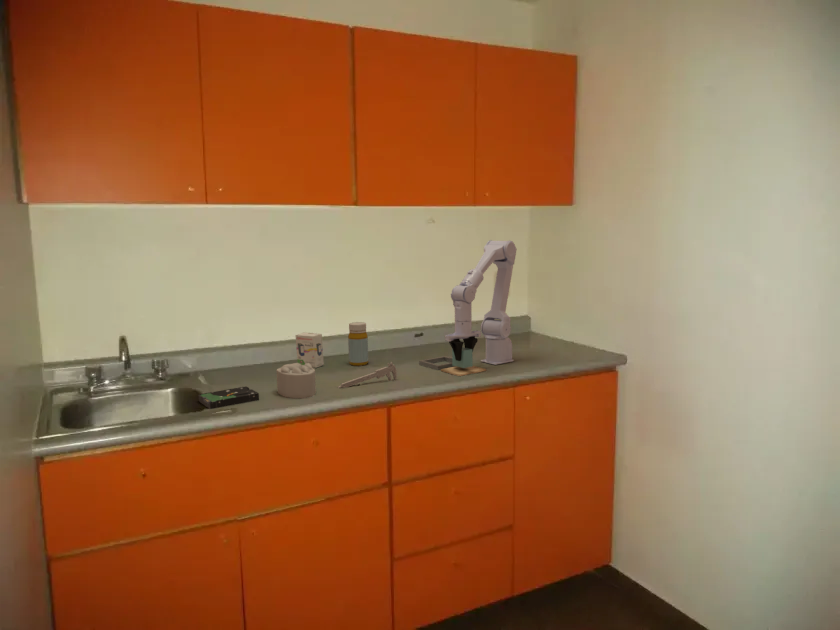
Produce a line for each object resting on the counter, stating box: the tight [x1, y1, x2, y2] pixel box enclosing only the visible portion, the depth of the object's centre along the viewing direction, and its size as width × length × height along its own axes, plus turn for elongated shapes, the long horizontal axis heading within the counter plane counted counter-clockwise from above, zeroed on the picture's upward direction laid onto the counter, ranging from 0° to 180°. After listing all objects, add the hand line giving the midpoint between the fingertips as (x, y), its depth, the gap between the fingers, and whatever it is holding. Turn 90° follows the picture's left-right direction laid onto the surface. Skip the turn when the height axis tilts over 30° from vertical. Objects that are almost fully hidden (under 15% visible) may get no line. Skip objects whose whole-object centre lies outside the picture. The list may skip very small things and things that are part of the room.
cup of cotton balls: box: [276, 362, 317, 399], centre depth 197 cm, size 10×13×9 cm
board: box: [440, 365, 487, 377], centre depth 222 cm, size 12×10×1 cm
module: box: [451, 346, 474, 368], centre depth 222 cm, size 4×6×6 cm, turn 37°
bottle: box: [347, 321, 369, 367], centre depth 234 cm, size 7×7×15 cm
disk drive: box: [198, 386, 260, 410], centre depth 190 cm, size 10×3×15 cm
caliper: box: [337, 361, 398, 389], centre depth 207 cm, size 20×1×6 cm, turn 119°
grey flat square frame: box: [418, 355, 455, 371], centre depth 232 cm, size 12×11×2 cm
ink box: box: [295, 331, 324, 369], centre depth 233 cm, size 9×5×12 cm, turn 64°
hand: (463, 359), depth 222 cm, fingers closed on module, 4 cm apart
